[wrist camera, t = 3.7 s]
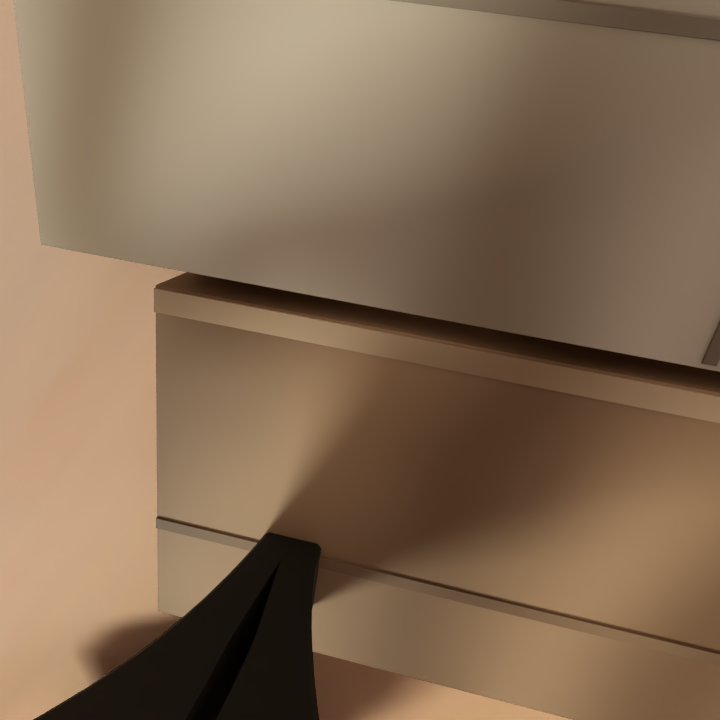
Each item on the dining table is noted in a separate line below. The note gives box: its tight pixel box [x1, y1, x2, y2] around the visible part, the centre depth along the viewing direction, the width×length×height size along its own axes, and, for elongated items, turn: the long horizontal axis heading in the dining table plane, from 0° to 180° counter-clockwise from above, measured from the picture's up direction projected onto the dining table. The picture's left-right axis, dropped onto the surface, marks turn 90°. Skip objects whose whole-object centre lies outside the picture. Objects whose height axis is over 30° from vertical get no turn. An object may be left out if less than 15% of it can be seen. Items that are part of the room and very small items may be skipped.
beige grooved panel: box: [14, 0, 720, 372], centre depth 8 cm, size 20×10×2 cm, turn 82°
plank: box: [154, 272, 720, 720], centre depth 12 cm, size 15×9×2 cm, turn 82°
